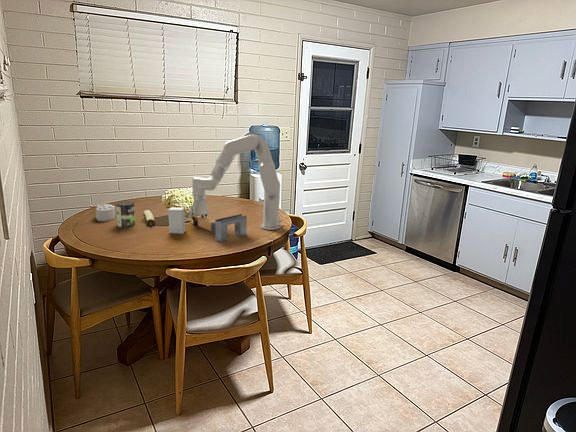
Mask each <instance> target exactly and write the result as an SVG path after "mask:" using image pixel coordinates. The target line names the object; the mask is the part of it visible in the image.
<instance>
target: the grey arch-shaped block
mask: <svg viewBox="0 0 576 432" xmlns="http://www.w3.org/2000/svg"><path fill="white" fill-rule="evenodd" d="M214 221H215V233H214V237H215V239H214V240H215V241H217V242H219V241H220V242H219V243H223V242H227V241H228V235H229V234H228V233H229V232H228V226H230V225H234V235H236V236H238V235H239V236H238V237H243V236H246V235H247V227H248V226H247V223H248V221H247V214H246V215H243V214H242V213H239V214H235V215H231V216H225V217H221V218H216V219H215V220H214ZM242 235H243V236H242ZM226 240H227V241H226Z"/></svg>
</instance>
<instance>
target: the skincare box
mask: <svg viewBox="0 0 576 432" xmlns="http://www.w3.org/2000/svg"><path fill="white" fill-rule="evenodd" d="M185 213H186V212H185V207H173V206H172V207H170V208H168V209H167V216H168V229H169V234H181V235H184V234H185V232H186V218H185V217H186V215H185Z"/></svg>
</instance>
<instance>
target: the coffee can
mask: <svg viewBox="0 0 576 432" xmlns="http://www.w3.org/2000/svg"><path fill="white" fill-rule="evenodd" d="M115 214H116V225H117V226H116V227H119V228H128V227H133V226H135V225H136V217H135V216H136V215H135V203H134V201H127V200H125V201H117V202H116V203H115Z"/></svg>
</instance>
